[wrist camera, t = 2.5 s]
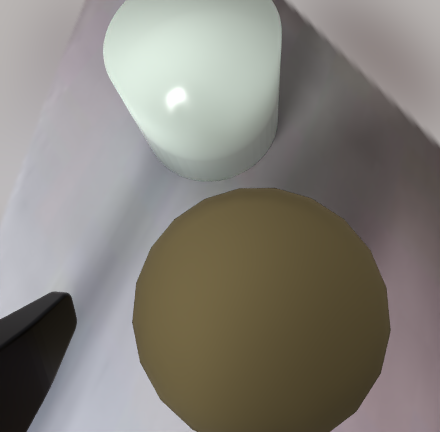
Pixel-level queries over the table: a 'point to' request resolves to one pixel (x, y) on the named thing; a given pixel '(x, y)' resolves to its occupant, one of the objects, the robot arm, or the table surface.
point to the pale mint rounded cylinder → (199, 80)
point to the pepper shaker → (261, 315)
